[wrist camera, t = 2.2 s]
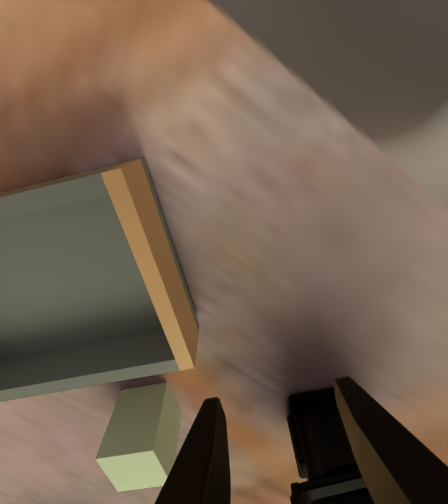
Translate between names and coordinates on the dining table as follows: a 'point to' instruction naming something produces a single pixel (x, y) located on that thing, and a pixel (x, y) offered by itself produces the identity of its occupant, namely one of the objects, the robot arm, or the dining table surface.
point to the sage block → (141, 438)
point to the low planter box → (89, 284)
